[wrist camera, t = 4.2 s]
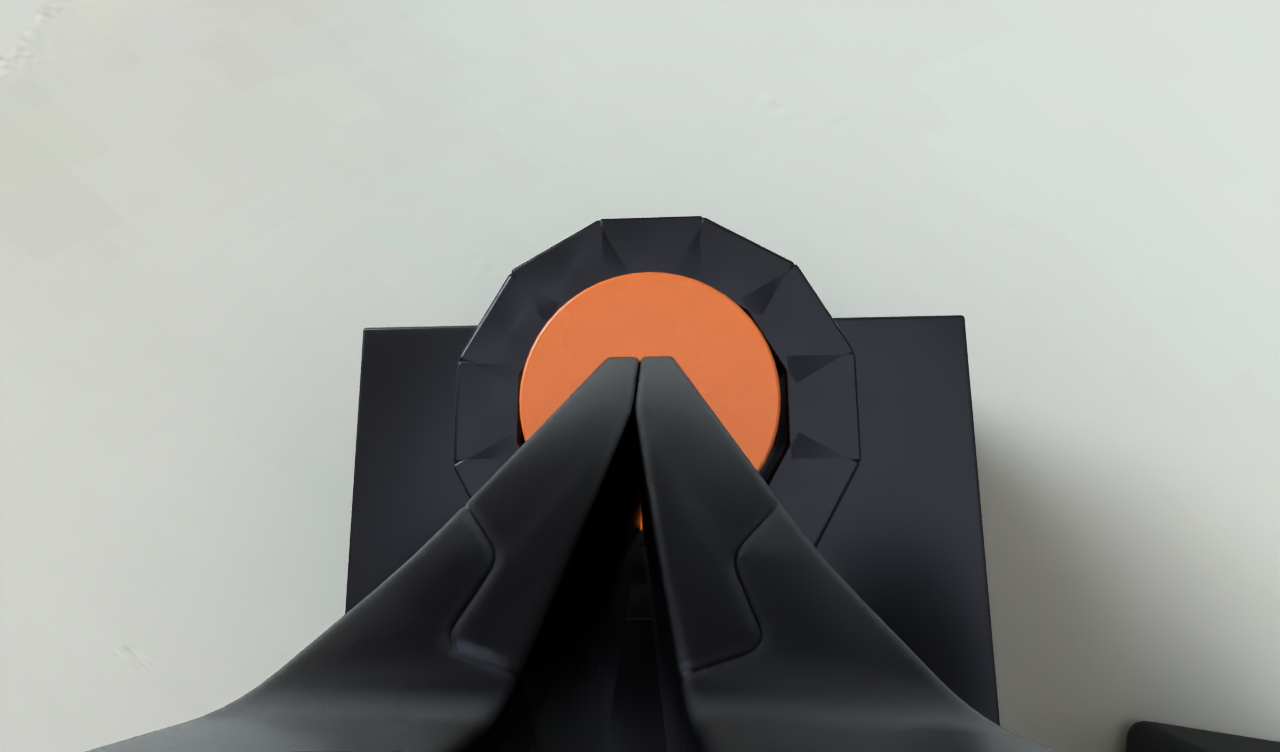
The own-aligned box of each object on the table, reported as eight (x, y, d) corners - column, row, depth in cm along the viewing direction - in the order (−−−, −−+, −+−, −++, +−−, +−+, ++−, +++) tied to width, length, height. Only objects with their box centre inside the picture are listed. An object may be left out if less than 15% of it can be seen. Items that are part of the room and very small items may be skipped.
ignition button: (773, 527, 12) (786, 531, 11) (538, 528, 13) (515, 531, 11) (764, 299, 13) (776, 267, 11) (543, 304, 13) (521, 274, 12)
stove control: (913, 767, 18) (1070, 949, 11) (435, 759, 19) (271, 924, 11) (883, 317, 20) (997, 206, 13) (453, 326, 21) (323, 226, 13)
